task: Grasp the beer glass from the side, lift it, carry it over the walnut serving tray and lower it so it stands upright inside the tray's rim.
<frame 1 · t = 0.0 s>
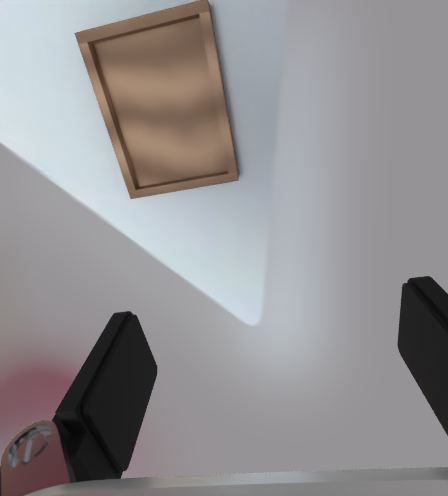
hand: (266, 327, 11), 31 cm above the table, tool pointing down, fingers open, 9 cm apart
walnut tray: (168, 111, 37), on the table
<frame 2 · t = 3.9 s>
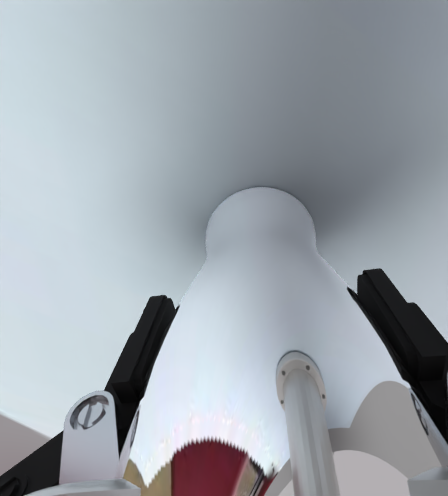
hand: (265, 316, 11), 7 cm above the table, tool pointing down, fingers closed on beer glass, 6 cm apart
beer glass: (259, 237, 18), on the table, touching gripper
when the fingers open (10 cm above the table, at t = 10.6 s): beer glass drops 2 cm, resting on walnut tray.
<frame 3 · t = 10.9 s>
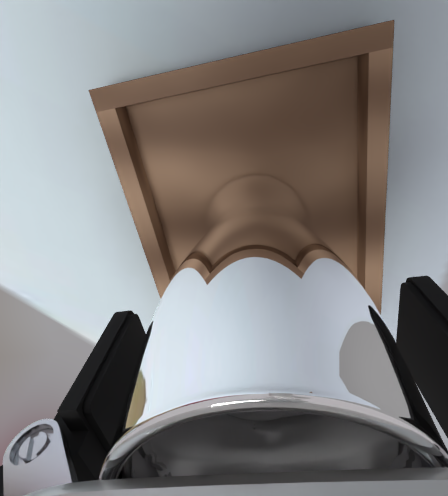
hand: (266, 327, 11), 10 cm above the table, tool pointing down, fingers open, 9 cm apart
walnut tray: (256, 219, 20), on the table
beer glass: (254, 222, 19), point 1 cm above the table, touching walnut tray
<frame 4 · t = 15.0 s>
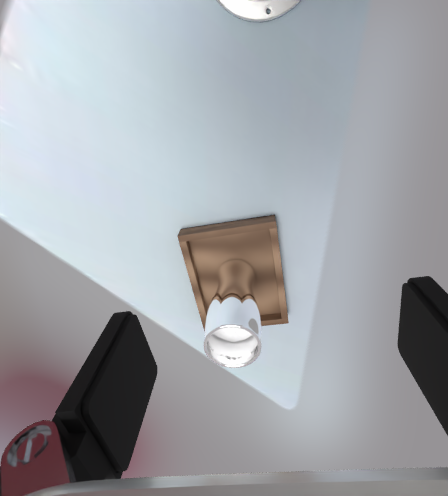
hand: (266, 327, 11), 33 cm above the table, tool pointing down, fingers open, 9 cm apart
walnut tray: (236, 273, 49), on the table
beer glass: (235, 275, 48), point 1 cm above the table, touching walnut tray
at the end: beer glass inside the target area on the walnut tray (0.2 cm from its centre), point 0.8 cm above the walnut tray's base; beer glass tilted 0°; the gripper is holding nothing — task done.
